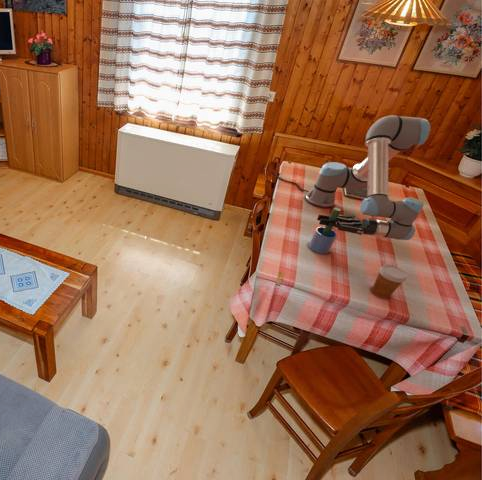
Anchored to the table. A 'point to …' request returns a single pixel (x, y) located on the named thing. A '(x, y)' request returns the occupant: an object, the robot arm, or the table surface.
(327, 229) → the stick
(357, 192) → the hardcover book
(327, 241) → the tumbler
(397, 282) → the disposable coffee cup
